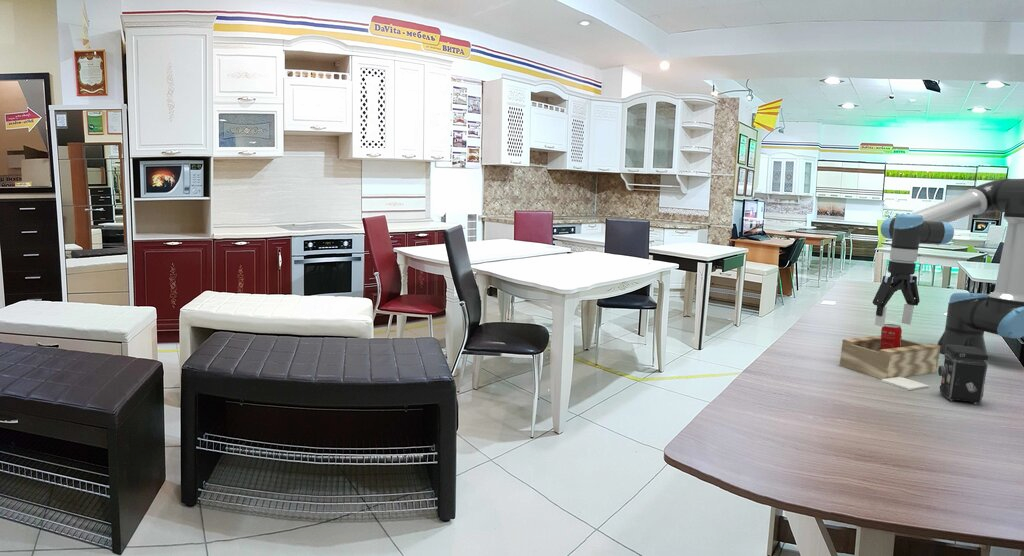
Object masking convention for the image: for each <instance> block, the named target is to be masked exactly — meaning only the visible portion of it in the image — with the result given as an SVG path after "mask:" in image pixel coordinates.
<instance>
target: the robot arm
mask: <svg viewBox="0 0 1024 556" xmlns="http://www.w3.org/2000/svg"><path fill="white" fill-rule="evenodd" d="M994 212H995V213H996V212H997V213H1003V219H1004V220H1005V221H1006V222H1007V227H1006V233H1005V235H1004V240H1003V241H1004V242H1003V246H1002V250H1001V257H1000V260H999V261H1000V262H999V266H998V271H997V275H996V276H997V277H996V280H995V281H996V282H995V286H994V291H992V292H990V293H978V292H977V293H975V292H954V293H952V294H951V295H950V296H949V301H948V306H947V312H946V321H945V326H944V327H945V328H944V332H943V333H942V335H941V337H940V338H939V340H938V342H937V344H936V345H939V346H940V353H941V354H944V355H945V347H946V345H957V346H967V347H975V348H979V349H980V350H982V351H983V352H984V353H986V354H987V353H988V352H987V346H986V341H985V337H984V334H985V333H989V334H992V335H997V336H999V337H1002V338H1009V339H1020V338H1024V178H1002V179H996V180H992V181H989V182H986V183H982V184H980V185H977V186H974V187H971V188H969V189H966V190H965V191H964V192H962V194H960V195H958V196H955V197H953V198H950V199H948V200H944V201H942V202H939V203H936V204H934V205H931V206H929V207H926V208H923V209H921V210H918V211H916V212H913V213H909V214H908V213H899V214H896V216H895V217H888V218H886V219H885V220H883V221H882V223H881V225H880V234H881V236H883V238H884V239H888V240H892V241H891V246H890V253H889V259H890V260H889V261H888V266H887V272H888V273H890V275H888V276H887V275H883V276H882V279H881V282H880V285H879V287H878V289H877V292H876V294H875V295H874V298H873V300H872V304H873V305H874V306H876V312H875V319H874V320H875V321H874V325H875V326H878V327H881V328H882V327H884V324H886V323H885V322H886V316H887V304H888V302H889V301H890V299H891V298H892V297H893V295H894V294H895V293H896V292H898V291H901V293H902V296H903V298H904V300H905V303H904V304H903V305H904V306H903V311H902V317H901V324H904V325H905V324H906V325H912V320H913V314H914V310H915V309H914V308H915V306H918V305H919V303H920V302H921V300H920V296H919V288H918V284H917V281H918V276H917V275H914V274H916V263H915V262H917V261H918V253H919V247H920V245H921V244H922V245H935V246H936V245H937V246H939V245H946V244H948V243H950V242H952V240H953V239H954V235H955V228H954V226H953V224H951V223H952V222H954V221H957V220H960V219H962V218H964V217H967V216H970V215H975V216H977V215H978V216H979V215H982V214H984V213H994ZM987 355H988V354H987Z"/></svg>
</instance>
